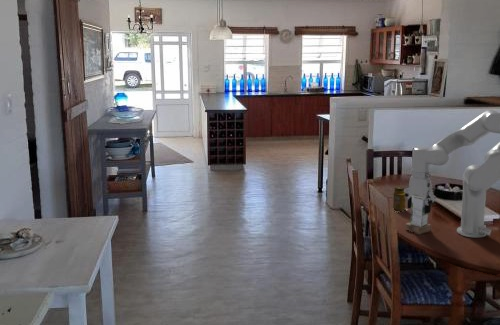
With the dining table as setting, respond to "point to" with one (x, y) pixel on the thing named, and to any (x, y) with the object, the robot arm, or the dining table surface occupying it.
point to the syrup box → (418, 212)
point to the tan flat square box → (418, 228)
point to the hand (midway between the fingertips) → (418, 210)
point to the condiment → (399, 199)
